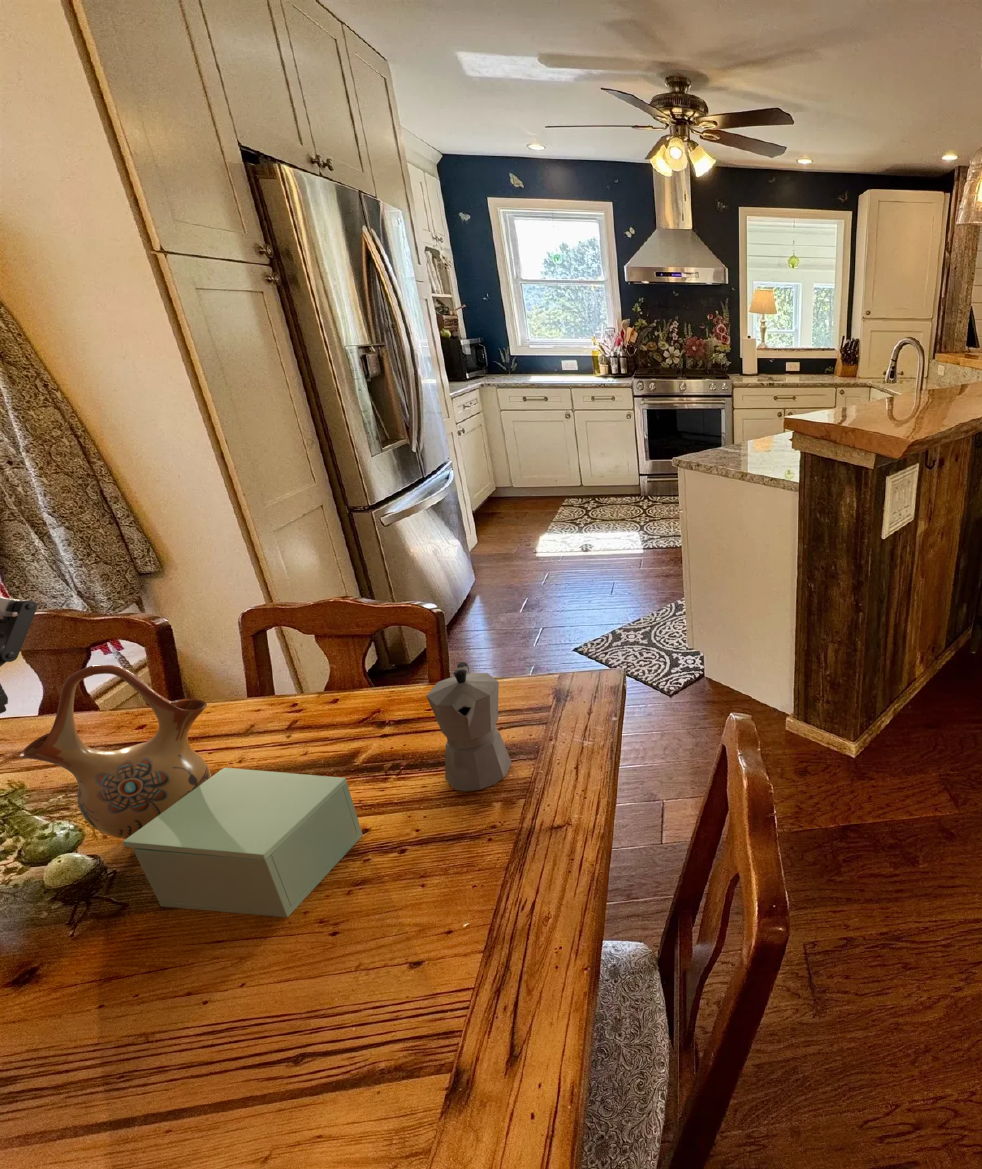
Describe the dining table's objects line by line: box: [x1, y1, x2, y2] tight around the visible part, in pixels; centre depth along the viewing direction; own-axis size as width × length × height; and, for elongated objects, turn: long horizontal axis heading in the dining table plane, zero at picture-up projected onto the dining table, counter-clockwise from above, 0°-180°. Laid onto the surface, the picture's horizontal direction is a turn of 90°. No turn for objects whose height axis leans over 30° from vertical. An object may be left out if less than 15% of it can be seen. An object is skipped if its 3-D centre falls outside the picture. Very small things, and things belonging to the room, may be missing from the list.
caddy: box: [132, 782, 364, 918], centre depth 76 cm, size 16×13×9 cm
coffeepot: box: [426, 661, 513, 792], centre depth 93 cm, size 15×9×18 cm, turn 26°
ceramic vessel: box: [19, 664, 212, 840], centre depth 78 cm, size 16×9×25 cm, turn 131°
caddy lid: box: [122, 767, 348, 860], centre depth 74 cm, size 16×13×1 cm
